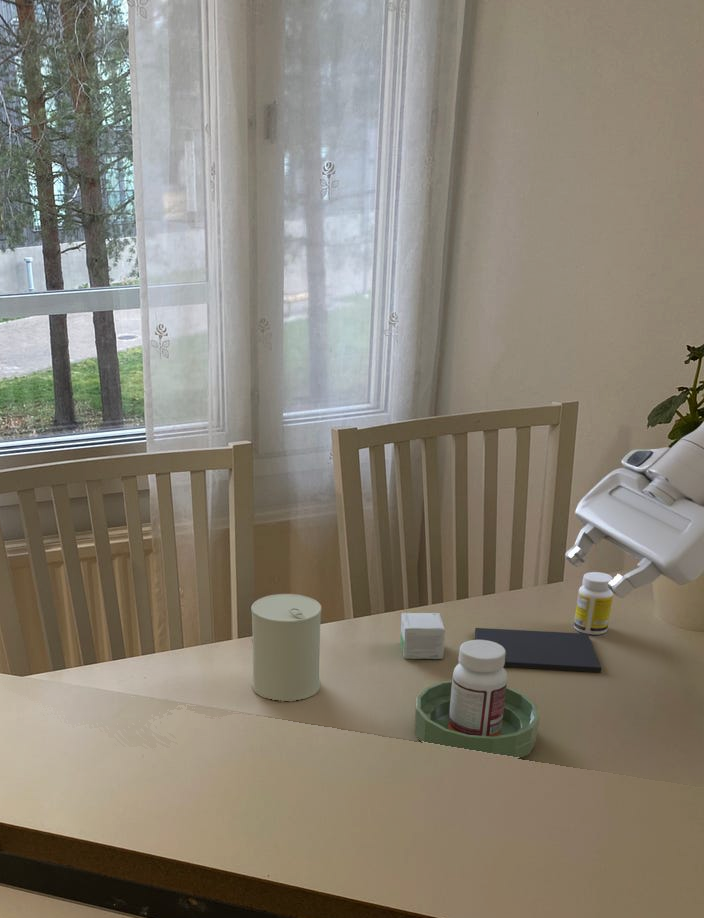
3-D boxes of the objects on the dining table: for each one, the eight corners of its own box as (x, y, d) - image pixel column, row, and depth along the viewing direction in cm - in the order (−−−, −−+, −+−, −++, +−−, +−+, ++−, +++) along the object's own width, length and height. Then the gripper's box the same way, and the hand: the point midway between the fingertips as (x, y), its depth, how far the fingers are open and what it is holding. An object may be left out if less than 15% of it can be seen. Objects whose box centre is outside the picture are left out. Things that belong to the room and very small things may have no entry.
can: (273, 708, 117) (273, 623, 112) (239, 679, 125) (238, 598, 120) (333, 691, 121) (336, 608, 116) (297, 664, 129) (297, 585, 123)
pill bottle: (491, 719, 113) (501, 636, 108) (507, 745, 107) (518, 659, 102) (442, 721, 112) (449, 638, 108) (455, 747, 107) (463, 661, 102)
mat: (587, 638, 134) (587, 633, 133) (600, 672, 124) (601, 667, 124) (474, 632, 137) (475, 627, 136) (479, 665, 127) (480, 660, 127)
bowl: (527, 712, 115) (531, 683, 113) (541, 774, 102) (545, 742, 101) (414, 704, 117) (416, 676, 116) (414, 764, 105) (416, 733, 103)
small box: (399, 642, 134) (401, 611, 132) (438, 642, 134) (441, 612, 132) (402, 659, 129) (404, 628, 127) (443, 660, 129) (446, 628, 126)
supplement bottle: (610, 626, 137) (619, 574, 134) (603, 638, 134) (612, 584, 130) (577, 620, 140) (585, 568, 136) (569, 631, 136) (577, 579, 133)
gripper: (766, 535, 92) (659, 630, 95) (650, 481, 110) (562, 562, 113) (737, 495, 90) (627, 594, 93) (622, 446, 108) (534, 530, 111)
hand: (591, 576), depth 103 cm, fingers open, 8 cm apart
